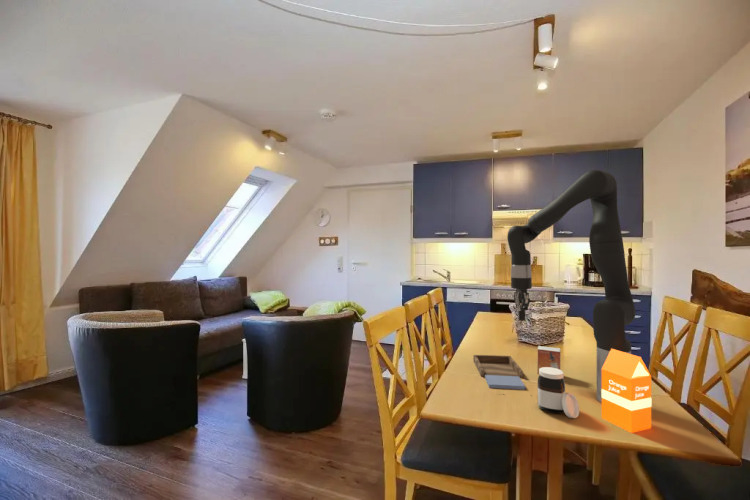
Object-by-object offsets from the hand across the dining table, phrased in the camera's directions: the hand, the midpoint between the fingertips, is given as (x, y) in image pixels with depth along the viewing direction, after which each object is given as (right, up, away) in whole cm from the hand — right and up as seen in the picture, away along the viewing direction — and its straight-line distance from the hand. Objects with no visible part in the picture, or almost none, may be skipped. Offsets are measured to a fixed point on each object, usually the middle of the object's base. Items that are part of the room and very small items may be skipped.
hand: (521, 320), depth 139 cm
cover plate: (-11, -22, -12) cm, 27 cm away
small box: (+9, -21, -3) cm, 23 cm away
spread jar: (-2, -22, -31) cm, 38 cm away
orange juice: (+13, -22, -39) cm, 47 cm away
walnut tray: (-9, -21, +3) cm, 23 cm away
